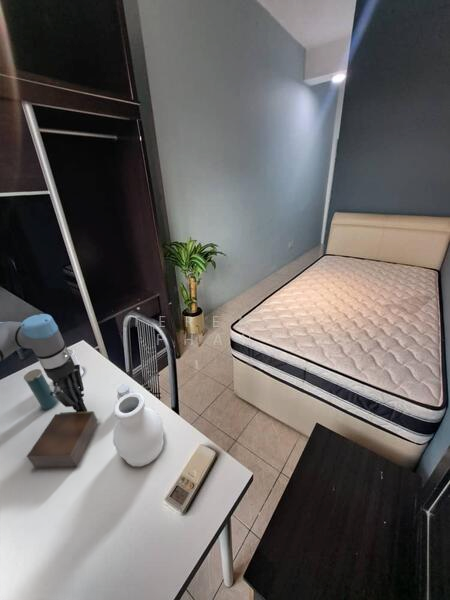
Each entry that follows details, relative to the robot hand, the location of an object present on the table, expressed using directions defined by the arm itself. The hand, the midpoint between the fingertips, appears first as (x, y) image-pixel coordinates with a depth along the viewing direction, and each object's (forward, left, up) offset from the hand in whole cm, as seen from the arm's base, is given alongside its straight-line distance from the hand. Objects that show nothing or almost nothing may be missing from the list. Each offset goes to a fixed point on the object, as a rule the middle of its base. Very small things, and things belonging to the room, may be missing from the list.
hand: (82, 412), depth 86 cm
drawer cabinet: (+9, -5, -3) cm, 11 cm away
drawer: (+6, -4, -2) cm, 8 cm away
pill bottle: (+4, +14, -3) cm, 15 cm away
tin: (-14, -11, -3) cm, 18 cm away
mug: (-26, -4, -3) cm, 26 cm away
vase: (+23, +14, -3) cm, 27 cm away
